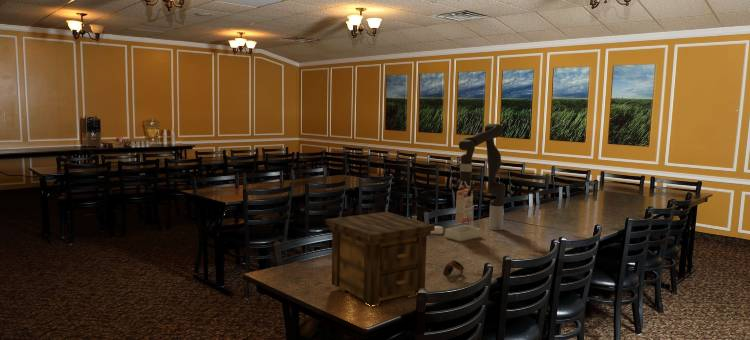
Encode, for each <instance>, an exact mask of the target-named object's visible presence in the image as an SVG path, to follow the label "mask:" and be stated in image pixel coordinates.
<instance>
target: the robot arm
mask: <svg viewBox="0 0 750 340" xmlns="http://www.w3.org/2000/svg"><path fill="white" fill-rule="evenodd" d="M503 132H504V131H503V126H502V125H501V124H499V123H486V124H485V126H484V131H483V132H479V133H476V134H473V135H472V136H470V137H466V138H463V139H461V140H460V141H459V143H458V148H459V149H460V150H461V151H465V153H464V154H461V155H460V166H459V167H460V168H459V178H456V181H455V183H456V185H455V186H456V188H457V189H458V191H460V190H463V189H464V187H466V189H468V197H470V196H471V191H472V190H473V191H475V184H476V182H475V180H472V176H473V175H472V174H473V173H472V172H473V165H472V163H473V156H474V153H475V152H474V151H475V149H476V147H478V146H480V145H481V144H483V143H485V144H486V154H487V155H486V156H487V160H486V161H487V169H488V174H487V176H488V185H487V190H488V193H489V194H490V195H491V196H495V197H496V198H495V199H491V200H490V203H489V217H488V219H489V220H488V229H489V230H491V231H502V230H503V229H504V204H505V198H506V190H507V189H506V185H505V183H502V182H497V178H496V176H497V174H498V173H499V171H500V168H501V166H502V154H501V153H500V151H499V149H498V147H497V146H496V145H495V141H494V139H497V138H499V137H500V136H502V134H503Z"/></svg>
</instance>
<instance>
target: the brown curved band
mask: <svg viewBox="0 0 750 340" xmlns="http://www.w3.org/2000/svg"><path fill="white" fill-rule="evenodd" d="M455 269H456V270H458V271H460V274H459V276H460V277H462V275H463V274H464V269H465V267H464V266H463V264H461V263H460V262H459V261H456V260H454V259H452V260H451V261H449V262H447V263H446V264H445V266H444V268H443V272H442V274H443V275H444V276H446V275H447V276H451V275H452V272H453V270H455Z"/></svg>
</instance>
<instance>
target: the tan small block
mask: <svg viewBox="0 0 750 340" xmlns="http://www.w3.org/2000/svg"><path fill="white" fill-rule="evenodd" d="M443 233H444V227H443V226H440V225H435V228H434V231H431V235H432V234H433V235H442V234H443Z"/></svg>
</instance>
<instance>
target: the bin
mask: <svg viewBox="0 0 750 340" xmlns="http://www.w3.org/2000/svg"><path fill="white" fill-rule="evenodd" d="M444 235H445V236H444V238H446V239H449V240H451V241H455V242H464V241H469V240H475V239H479V238H481V237H482V236H481V235H482V228H480V227H476V226H472V225H467V224H465V225H460V226H455V227H454V226H453V227H449V228H445V233H444Z"/></svg>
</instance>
